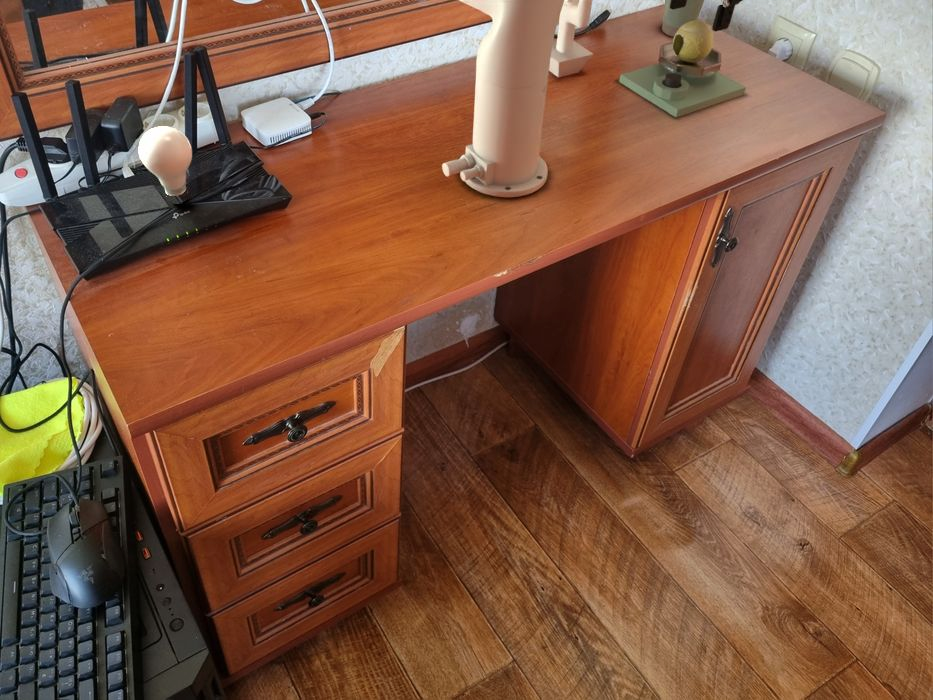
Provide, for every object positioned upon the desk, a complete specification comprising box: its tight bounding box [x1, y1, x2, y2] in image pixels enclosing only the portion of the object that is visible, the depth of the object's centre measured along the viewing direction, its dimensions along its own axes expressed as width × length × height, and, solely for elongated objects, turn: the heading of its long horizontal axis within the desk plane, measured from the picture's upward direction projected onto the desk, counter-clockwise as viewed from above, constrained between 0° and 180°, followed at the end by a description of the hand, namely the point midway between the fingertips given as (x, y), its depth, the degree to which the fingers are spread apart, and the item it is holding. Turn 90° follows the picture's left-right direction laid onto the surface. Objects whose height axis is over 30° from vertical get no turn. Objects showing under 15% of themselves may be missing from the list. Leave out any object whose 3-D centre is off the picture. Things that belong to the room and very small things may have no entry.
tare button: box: [664, 73, 681, 88], centre depth 129 cm, size 3×3×2 cm
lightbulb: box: [138, 125, 193, 196], centre depth 102 cm, size 6×6×11 cm
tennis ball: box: [672, 19, 715, 63], centre depth 132 cm, size 6×7×7 cm
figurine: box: [549, 0, 594, 78], centre depth 132 cm, size 7×9×15 cm
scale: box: [618, 62, 747, 118], centre depth 134 cm, size 16×14×3 cm
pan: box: [658, 41, 722, 78], centre depth 134 cm, size 10×10×2 cm
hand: (698, 18), depth 129 cm, fingers open, 9 cm apart
